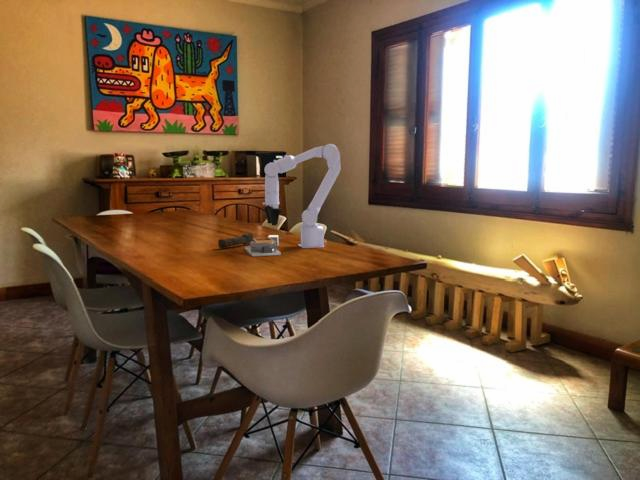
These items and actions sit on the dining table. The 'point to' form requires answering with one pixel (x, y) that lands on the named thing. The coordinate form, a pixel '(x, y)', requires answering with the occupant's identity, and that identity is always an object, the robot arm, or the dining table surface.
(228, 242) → the hand tool
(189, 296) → the dining table surface
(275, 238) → the block
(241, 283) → the dining table surface
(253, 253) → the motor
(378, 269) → the dining table surface
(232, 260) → the dining table surface
